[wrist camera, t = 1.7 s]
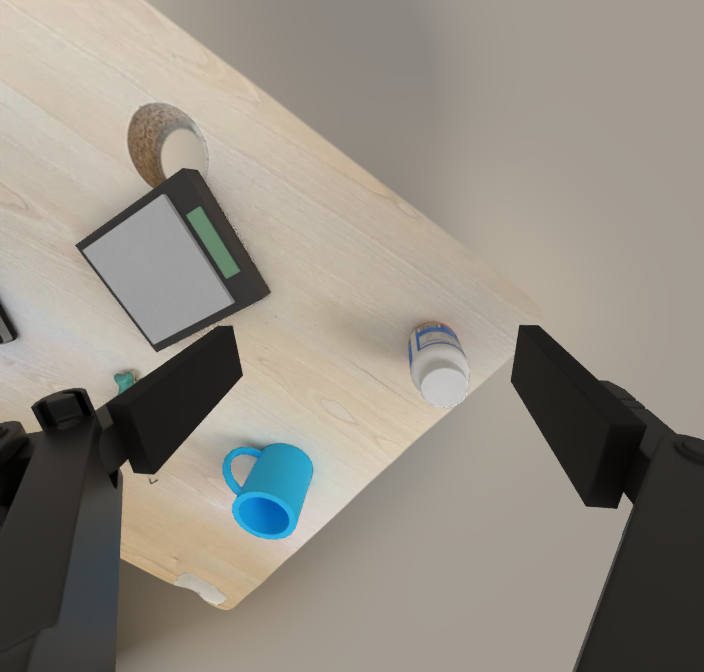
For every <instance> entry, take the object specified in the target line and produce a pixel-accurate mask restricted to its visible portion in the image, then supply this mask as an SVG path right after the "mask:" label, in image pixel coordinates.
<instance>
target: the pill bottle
mask: <svg viewBox="0 0 704 672" xmlns="http://www.w3.org/2000/svg"><path fill="white" fill-rule="evenodd" d="M408 350H409V361H410V373H411V378H412V381H413V383H414V385H415V387H416V388H417V389H418V390H419V391H420V392H421V394H422V396H423V398H424V399H425V401H426V402H428V403H429V404H430V405H432V406H435V407H438V408H450V407H453V406H456V405H458V404H459V403H461V402H462V401H463V400H464V399H465V397H466V396H467V393H468V380H469V376H470V368H469V364H468V361H467V359H466V357H465V354H464V352H463V350H462V348H461V346H460V343H459V341H458V339H457V337H456V335H455V333H454V332H453V331H452V330H451V329H450V328H449V327H448V326H446V325H444V324H441V323H436V322H432V323H426V324H423V325H421V326H419V327H418V328H417V329H415V330H414V332H413V333H412V334H411V336H410V339H409V343H408Z"/></svg>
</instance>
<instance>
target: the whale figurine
mask: <svg viewBox="0 0 704 672" xmlns="http://www.w3.org/2000/svg"><path fill="white" fill-rule="evenodd" d="M114 379H115V381H116V383H117V384H118V385H119V386H120V388H119V393H118V395H119V394H120V393H122V392H123V391H124V390H126V389H127V388H129V387H131V386H132V385H133V384H135V383H136V381H135V375H134V373H132V372H128V373H127V374H119V373H118V374H116V375H115V376H114Z"/></svg>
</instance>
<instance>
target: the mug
mask: <svg viewBox="0 0 704 672" xmlns="http://www.w3.org/2000/svg"><path fill="white" fill-rule="evenodd" d="M240 454H248V455H252V456H255V457H257V458H258V459H257V461H256V463H255V464H254V466H253V468H252V470H251V472H250V474H249V475H248V477H247V479H246V481H245V483H244V485H243V486H242V487H240V486H239V484H238V483H237V482H236V481H235V479H234V477H233V475H232V472H231V462H232V459H233V458H234V457H235V456H238V455H240ZM312 473H313V466H312V462H311V461H310V459H309V458H308V456H307V455H306V454H305V453H304V452H303V451H301V450H300V449H298V448H296V447H294V446H291V445H287V444H273V445H270V446H267V447H266V448H265V449H263V450H262V451H260V450H258V449H255V448H251V447H239V448H237V449H234V450H232V451H231V452H230V453H229V454H227V455H226V457H225V459H224V462H223V475H224V478H225V481H226V483H227V485H228V486H229V487H230V489H231V490H232V491H233V492H234V493H235V494H236V495H237V497H236V499H235V501H234V503H233V505H232V513H233V516H234V518H235V520H236V521H237V523H238V524H239V525H240V526H241V527H242V528H243V529H244V530H246V531H247V532H249V533H251V534H253V535H255V536H257V537H260V538H264V539H281V538H285V537H287V536H288V535H290V534H292V532H293V531H294V529H295V528H296V525H297V522H298V518H299V515H300V512H301V509H302V506H303V503H304V500H305V496H306V493H307V490H308V487H309V484H310V481H311V478H312Z"/></svg>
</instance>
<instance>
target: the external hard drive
mask: <svg viewBox="0 0 704 672" xmlns="http://www.w3.org/2000/svg"><path fill="white" fill-rule="evenodd" d="M16 338H17V334H16V332H15V331H14V329H13V327H12V325H11V323H10V322H9V320H8V318H7V316H6V314H5V312H4V311H3V309H2V307H1V305H0V345H1V344H5V343H8V342H11V341H13V340H15V339H16Z"/></svg>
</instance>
